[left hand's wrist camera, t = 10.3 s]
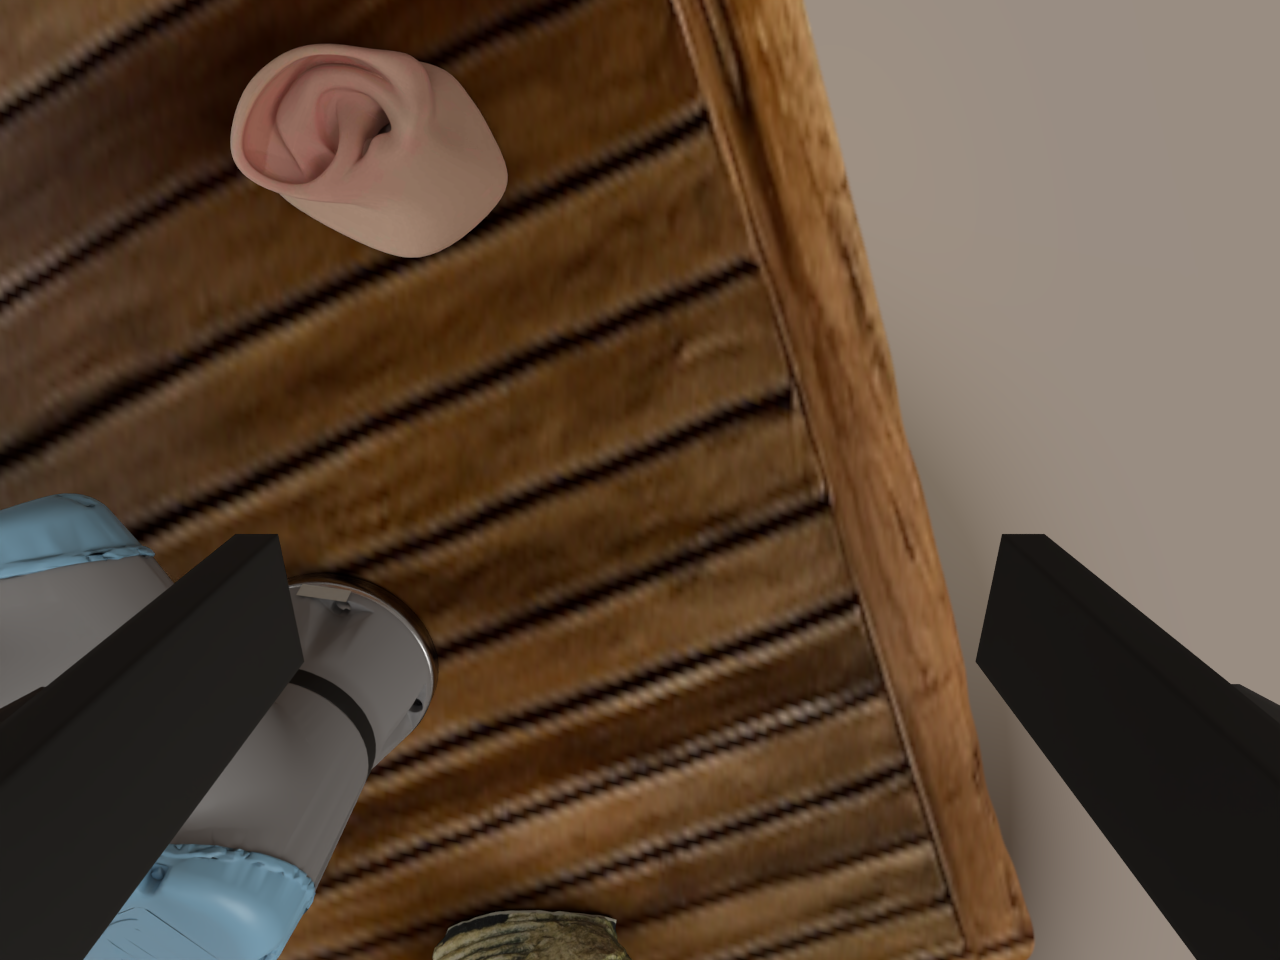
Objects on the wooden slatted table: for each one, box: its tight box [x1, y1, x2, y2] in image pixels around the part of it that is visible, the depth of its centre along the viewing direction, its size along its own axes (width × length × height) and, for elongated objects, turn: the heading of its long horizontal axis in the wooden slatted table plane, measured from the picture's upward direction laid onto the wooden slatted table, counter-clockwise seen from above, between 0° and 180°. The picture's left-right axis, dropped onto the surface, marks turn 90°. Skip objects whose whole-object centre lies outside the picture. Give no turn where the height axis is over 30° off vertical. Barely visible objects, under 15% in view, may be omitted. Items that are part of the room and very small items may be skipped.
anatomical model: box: [231, 44, 508, 257], centre depth 39 cm, size 13×4×12 cm
